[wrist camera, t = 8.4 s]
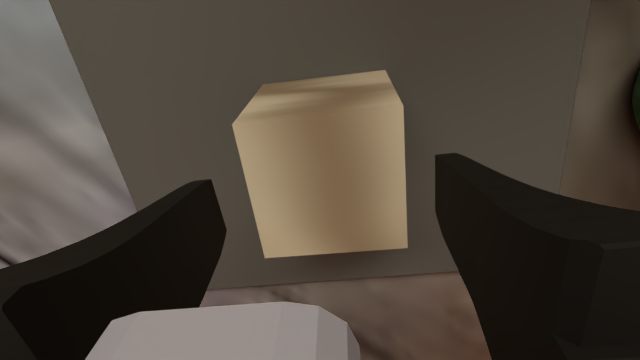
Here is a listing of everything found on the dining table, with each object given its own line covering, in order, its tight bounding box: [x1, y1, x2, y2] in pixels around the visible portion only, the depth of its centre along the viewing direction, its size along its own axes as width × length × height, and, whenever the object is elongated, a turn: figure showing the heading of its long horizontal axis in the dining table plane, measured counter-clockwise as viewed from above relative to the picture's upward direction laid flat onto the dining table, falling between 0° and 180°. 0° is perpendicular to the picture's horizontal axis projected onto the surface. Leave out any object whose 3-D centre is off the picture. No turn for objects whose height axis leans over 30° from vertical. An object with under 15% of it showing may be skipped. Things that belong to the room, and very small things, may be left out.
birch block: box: [232, 70, 408, 258], centre depth 14 cm, size 5×5×5 cm
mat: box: [49, 0, 591, 289], centre depth 17 cm, size 20×16×1 cm
